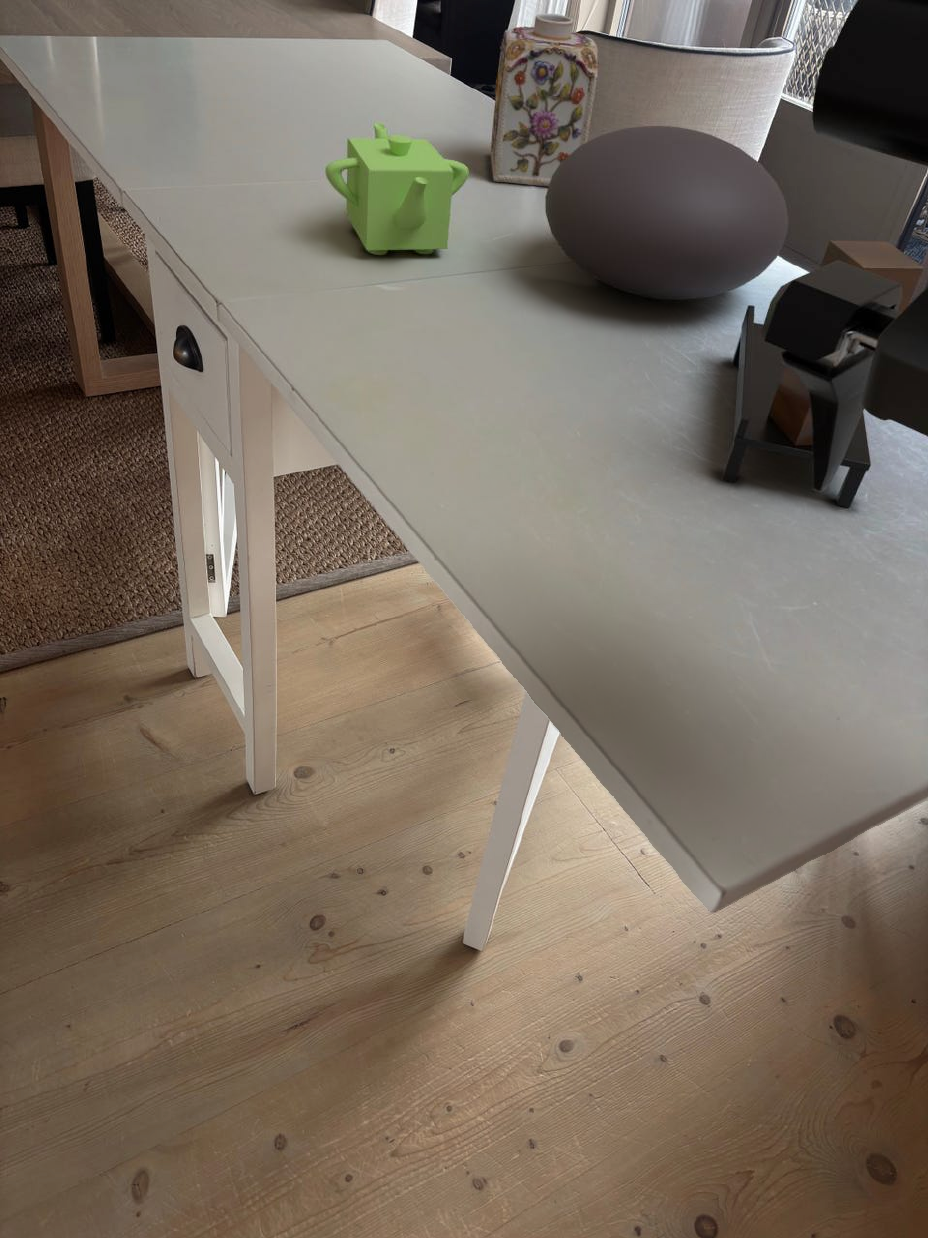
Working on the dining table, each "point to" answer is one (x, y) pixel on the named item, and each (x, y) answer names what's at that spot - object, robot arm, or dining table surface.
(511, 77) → the decorative jar
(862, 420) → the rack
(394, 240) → the teapot
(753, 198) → the smooth stone
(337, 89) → the dining table surface
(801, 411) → the walnut block
